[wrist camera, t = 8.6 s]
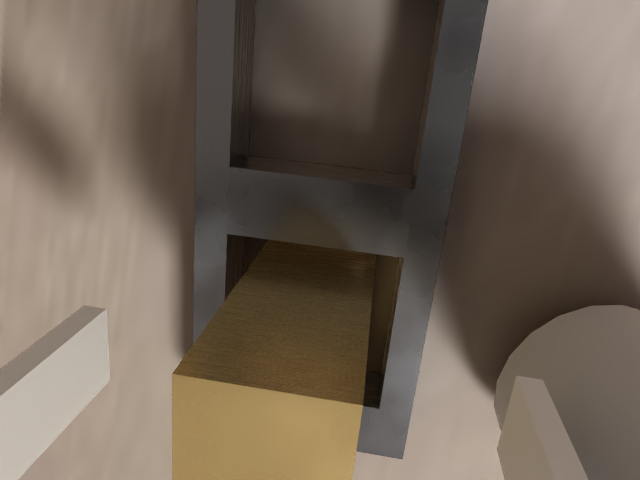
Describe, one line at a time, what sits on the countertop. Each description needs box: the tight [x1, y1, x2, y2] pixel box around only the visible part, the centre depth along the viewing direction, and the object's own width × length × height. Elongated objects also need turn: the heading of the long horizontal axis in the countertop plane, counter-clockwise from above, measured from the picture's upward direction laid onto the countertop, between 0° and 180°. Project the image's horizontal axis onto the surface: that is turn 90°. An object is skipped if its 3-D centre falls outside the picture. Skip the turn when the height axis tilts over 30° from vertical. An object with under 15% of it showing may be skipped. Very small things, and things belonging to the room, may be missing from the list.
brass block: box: [172, 240, 376, 480], centre depth 17 cm, size 4×4×10 cm
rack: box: [193, 0, 488, 459], centre depth 19 cm, size 9×20×2 cm, turn 174°
